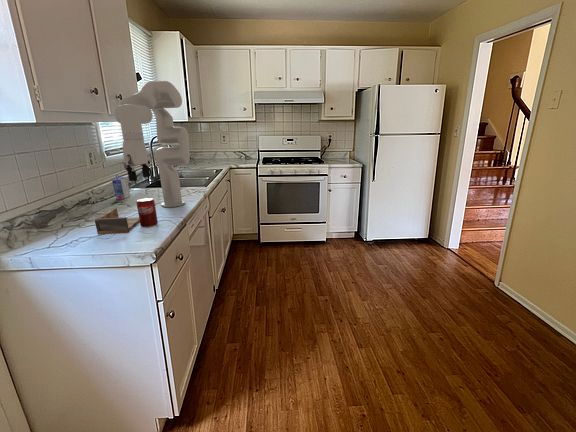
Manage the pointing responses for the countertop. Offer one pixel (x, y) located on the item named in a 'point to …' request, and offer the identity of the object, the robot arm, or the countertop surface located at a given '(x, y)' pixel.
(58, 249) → the countertop surface
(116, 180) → the ink cartridge box
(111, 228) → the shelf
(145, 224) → the soda can
